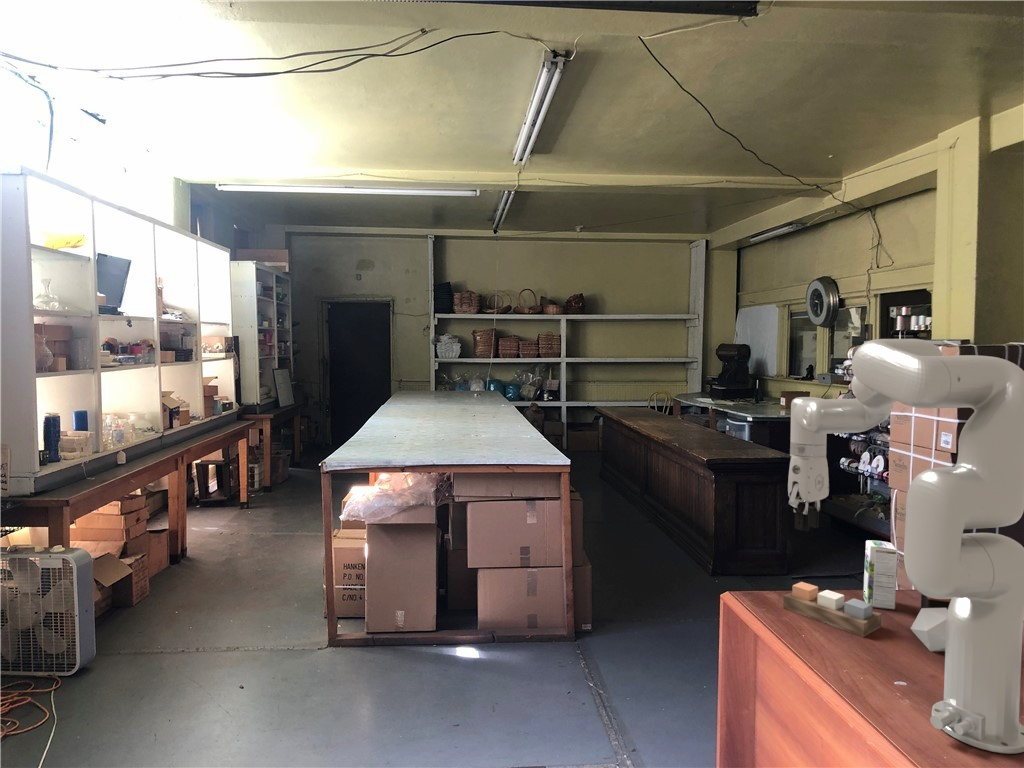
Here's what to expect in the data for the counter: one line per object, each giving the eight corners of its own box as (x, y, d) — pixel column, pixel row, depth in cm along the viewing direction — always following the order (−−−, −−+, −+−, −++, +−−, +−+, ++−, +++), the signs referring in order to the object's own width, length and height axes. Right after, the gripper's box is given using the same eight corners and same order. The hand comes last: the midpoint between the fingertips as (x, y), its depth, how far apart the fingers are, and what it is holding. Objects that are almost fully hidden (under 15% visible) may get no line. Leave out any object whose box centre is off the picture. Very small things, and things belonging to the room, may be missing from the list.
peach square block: (818, 599, 142) (818, 586, 142) (808, 603, 140) (809, 590, 140) (801, 593, 145) (801, 581, 145) (792, 597, 143) (792, 585, 143)
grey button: (872, 617, 132) (872, 604, 132) (863, 622, 130) (863, 608, 130) (853, 611, 136) (853, 598, 136) (844, 615, 133) (844, 602, 133)
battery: (927, 624, 134) (929, 580, 134) (920, 612, 140) (921, 569, 140) (951, 627, 132) (952, 582, 132) (942, 615, 139) (944, 572, 138)
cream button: (844, 608, 137) (844, 595, 137) (835, 612, 135) (835, 599, 135) (826, 602, 141) (826, 589, 140) (817, 606, 138) (817, 593, 138)
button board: (881, 627, 133) (881, 613, 133) (863, 637, 128) (863, 623, 128) (801, 599, 148) (802, 587, 147) (783, 608, 143) (783, 595, 143)
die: (965, 666, 118) (981, 620, 120) (923, 641, 119) (939, 597, 121) (937, 660, 125) (952, 618, 128) (897, 637, 127) (913, 595, 129)
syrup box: (862, 597, 149) (864, 539, 148) (890, 600, 147) (891, 541, 146) (867, 606, 143) (869, 546, 143) (896, 610, 141) (898, 549, 141)
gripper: (804, 456, 133) (802, 539, 134) (842, 449, 142) (840, 526, 143) (772, 452, 139) (771, 531, 140) (811, 445, 149) (809, 519, 150)
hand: (806, 527), depth 142 cm, fingers open, 3 cm apart
